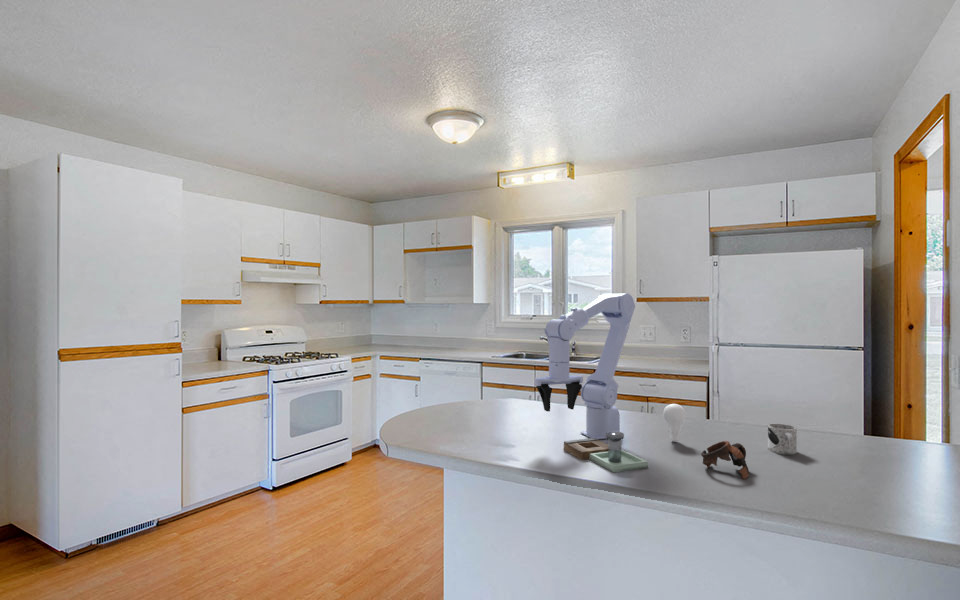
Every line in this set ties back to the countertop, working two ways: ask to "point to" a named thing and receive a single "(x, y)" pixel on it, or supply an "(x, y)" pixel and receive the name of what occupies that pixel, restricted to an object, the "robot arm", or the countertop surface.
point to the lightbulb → (674, 420)
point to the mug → (782, 438)
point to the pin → (614, 446)
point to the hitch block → (585, 447)
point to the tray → (626, 464)
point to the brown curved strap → (727, 455)
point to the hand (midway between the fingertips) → (558, 409)
